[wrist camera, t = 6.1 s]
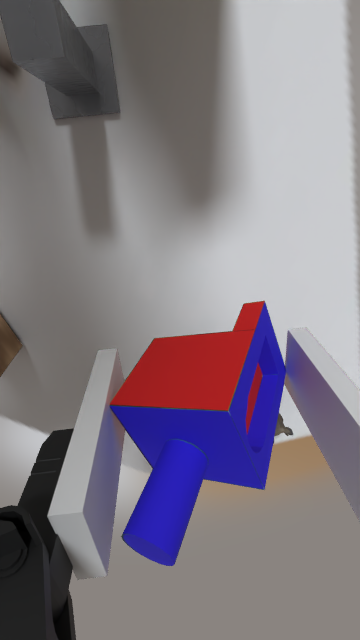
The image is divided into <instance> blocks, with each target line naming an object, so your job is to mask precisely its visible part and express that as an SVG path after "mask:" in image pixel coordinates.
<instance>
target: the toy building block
mask: <svg viewBox="0 0 360 640" xmlns="http://www.w3.org/2000/svg"><path fill="white" fill-rule="evenodd" d="M285 375H286V368H285V365H284V362H283V358H282V355H281V352H280V349H279V345H278V342H277V339H276V336H275V333H274V329H273V326H272V323H271V320H270V316H269V313H268V310H267V307H266V303H265V301H260V302H252V303H245V304H243V307H242V309H241V311H240V314H239V316H238V319H237V321H236V324H235V326H234V328H233V331H228V332H218V333H207V334H196V335H185V336H175V337H164V338H154V340H153V341H152V342H151V344H150V345H149V347H148V348H147V350H146V351H145V353H144V354H143V356H142V357H141V358H140V360H139V361H138V363H137V364H136V366H135V367H134V369H133V370H132V372H131V373H130V375H129V376H128V377H127V379H126V380H125V382H124V383H123V385H122V386H121V388H120V389H119V391H118V392H117V394H116V395H115V396H114V398H113V399H112V401H111V402H110V405H109V406H110V409H111V410H112V412H113V413H114V414H115V416H116V417H117V419H118V420H119V421H120V423H121V424H122V426H123V427H124V428H125V430H126V431H127V433H128V434H129V436H130V437H131V438H132V440H133V441H134V443H135V444H136V445H137V447H138V448H139V450H140V451H141V453H142V454H143V455H144V457H145V458H146V460H147V461H148V462H149V464H150V465H151V467H152V468H153V470H152V472H151V474H150V477H149V479H148V481H147V483H146V485H145V487H144V490H143V492H142V494H141V496H140V498H139V500H138V502H137V505H136V507H135V509H134V511H133V513H132V515H131V517H130V519H129V522H128V524H127V526H126V528H125V530H124V532H123V534H122V539H123V541H124V542H125V543H126V544H127V545H128V546H130V547H131V548H132V549H133V550H135V551H136V552H138V553H139V554H141V555H143V556H144V557H146V558H148V559H150V560H152V561H155V562H157V563H160V564H163V565H166V566H173V565H174V564H175V561H176V558H177V555H178V552H179V549H180V547H181V544H182V540H183V538H184V535H185V531H186V529H187V526H188V523H189V519H190V517H191V514H192V511H193V508H194V505H195V502H196V499H197V496H198V493H199V490H200V487H201V484H202V481H203V479H205V480H211V481H217V482H223V483H228V484H234V485H239V486H245V487H251V488H257V489H262V490H264V489H265V484H266V479H267V473H268V468H269V462H270V457H271V452H272V446H273V441H274V435H275V430H276V424H277V419H278V413H279V408H280V403H281V397H282V392H283V386H284V381H285Z"/></svg>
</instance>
